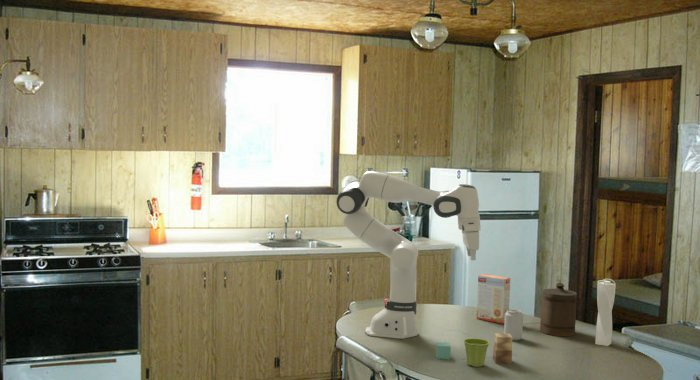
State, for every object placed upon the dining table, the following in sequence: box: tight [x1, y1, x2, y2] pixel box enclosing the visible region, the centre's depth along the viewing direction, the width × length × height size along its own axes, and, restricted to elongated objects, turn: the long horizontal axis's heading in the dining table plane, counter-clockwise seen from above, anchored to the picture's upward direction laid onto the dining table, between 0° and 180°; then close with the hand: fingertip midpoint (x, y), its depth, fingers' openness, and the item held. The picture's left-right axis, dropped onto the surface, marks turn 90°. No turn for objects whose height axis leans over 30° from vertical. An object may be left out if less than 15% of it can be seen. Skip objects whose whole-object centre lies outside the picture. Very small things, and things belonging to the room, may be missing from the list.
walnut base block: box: [492, 345, 513, 365], centre depth 275 cm, size 6×6×5 cm
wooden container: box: [539, 282, 578, 337], centre depth 323 cm, size 15×15×22 cm
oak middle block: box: [494, 332, 513, 352], centre depth 275 cm, size 6×6×5 cm
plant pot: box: [463, 337, 490, 368], centre depth 270 cm, size 9×9×9 cm
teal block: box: [435, 341, 452, 360], centre depth 278 cm, size 5×5×5 cm
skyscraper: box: [594, 278, 617, 347], centre depth 305 cm, size 8×8×28 cm
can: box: [503, 308, 524, 341], centre depth 310 cm, size 8×8×12 cm
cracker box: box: [476, 273, 511, 324], centre depth 341 cm, size 14×6×21 cm, turn 49°
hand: (471, 257), depth 298 cm, fingers open, 8 cm apart
